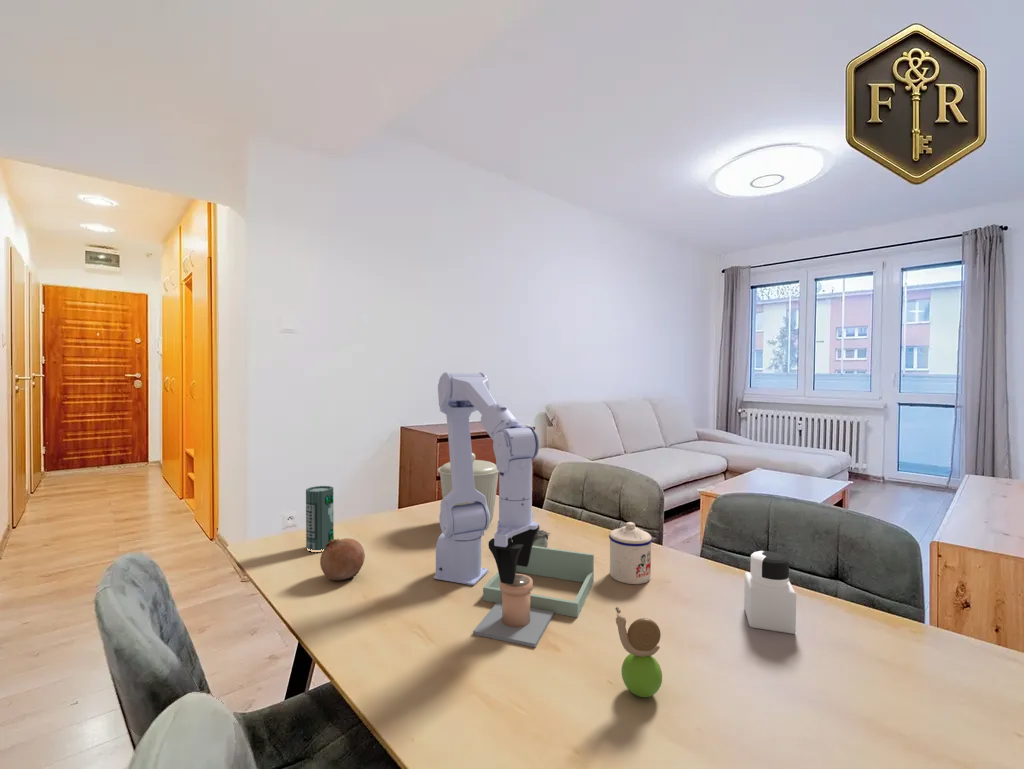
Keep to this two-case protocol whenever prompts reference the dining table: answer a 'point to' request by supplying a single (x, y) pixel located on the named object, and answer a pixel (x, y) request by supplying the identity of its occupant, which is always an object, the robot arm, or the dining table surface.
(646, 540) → the teacup with lid
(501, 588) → the terracotta pot
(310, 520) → the can
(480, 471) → the canister
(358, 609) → the dining table surface
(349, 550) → the brown kiwi fruit
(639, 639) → the snail figurine
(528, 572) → the frame
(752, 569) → the medicine bottle
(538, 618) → the slate mat
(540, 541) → the decorative bird
